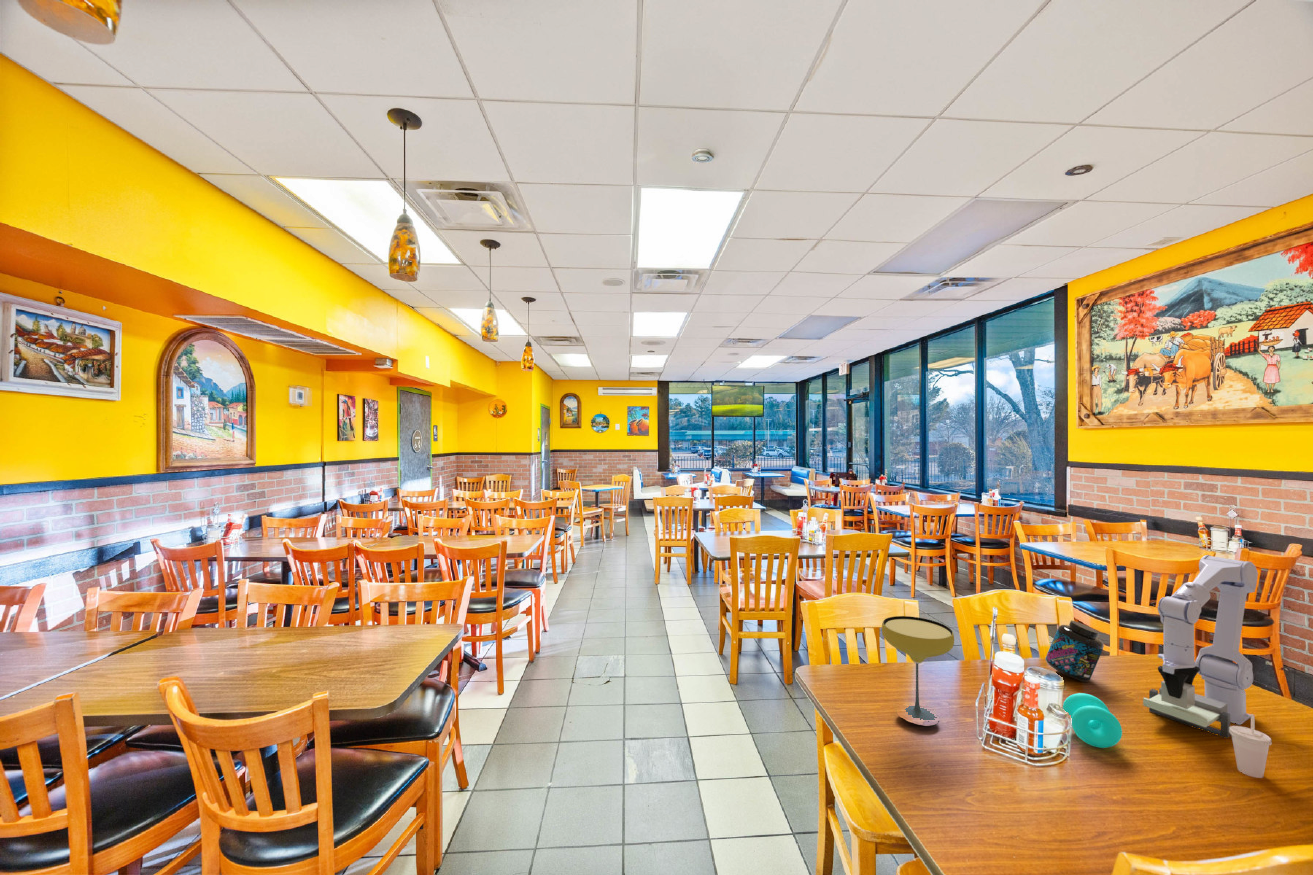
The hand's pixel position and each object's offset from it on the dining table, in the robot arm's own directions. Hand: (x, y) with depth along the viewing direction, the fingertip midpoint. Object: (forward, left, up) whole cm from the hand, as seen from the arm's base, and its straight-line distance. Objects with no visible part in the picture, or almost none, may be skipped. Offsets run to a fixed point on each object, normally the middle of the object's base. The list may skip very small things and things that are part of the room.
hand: (1179, 694), depth 135 cm
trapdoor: (-6, 0, -4) cm, 7 cm away
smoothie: (+11, +15, -10) cm, 21 cm away
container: (-11, -28, -10) cm, 32 cm away
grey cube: (0, 0, -2) cm, 2 cm away
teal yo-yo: (+26, -9, -10) cm, 29 cm away
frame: (-6, 0, -9) cm, 11 cm away
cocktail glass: (+56, -37, -10) cm, 68 cm away
